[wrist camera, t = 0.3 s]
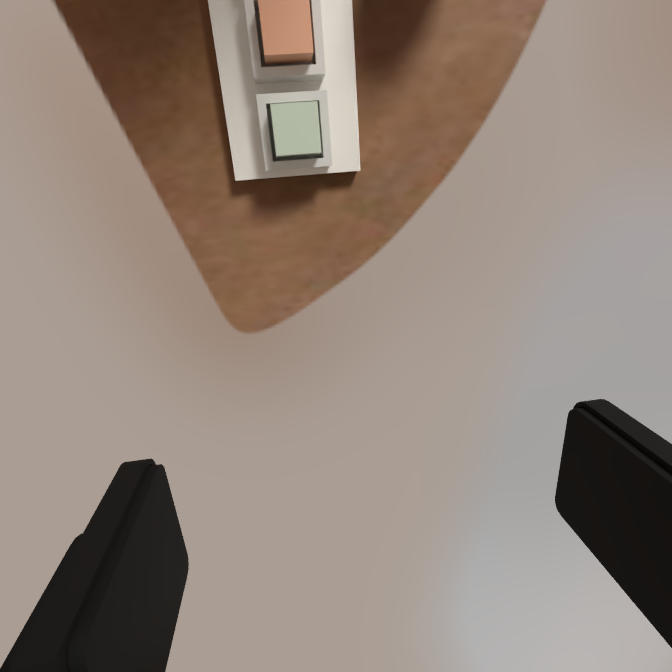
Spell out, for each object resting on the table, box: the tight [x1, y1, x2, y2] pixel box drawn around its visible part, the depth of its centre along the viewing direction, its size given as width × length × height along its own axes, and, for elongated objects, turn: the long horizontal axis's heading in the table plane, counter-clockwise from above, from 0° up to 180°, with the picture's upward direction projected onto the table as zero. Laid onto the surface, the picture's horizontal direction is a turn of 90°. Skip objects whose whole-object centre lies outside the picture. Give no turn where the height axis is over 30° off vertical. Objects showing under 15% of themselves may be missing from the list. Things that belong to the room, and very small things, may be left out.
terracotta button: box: [258, 0, 314, 64], centre depth 28 cm, size 3×3×2 cm
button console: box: [208, 0, 360, 181], centre depth 30 cm, size 18×10×4 cm, turn 4°
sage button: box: [270, 101, 322, 157], centre depth 30 cm, size 3×3×2 cm
